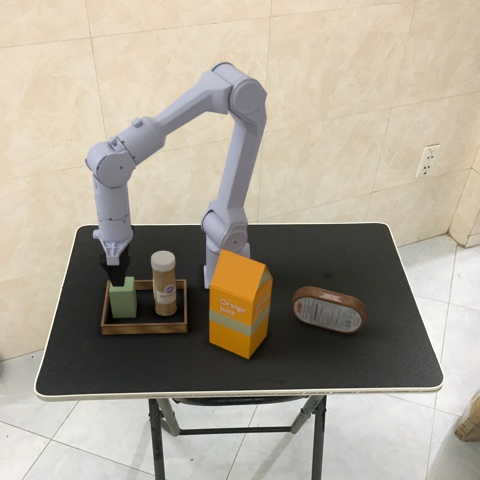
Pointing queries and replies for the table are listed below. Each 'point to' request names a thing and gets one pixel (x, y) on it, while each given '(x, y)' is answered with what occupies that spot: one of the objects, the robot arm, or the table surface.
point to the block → (124, 299)
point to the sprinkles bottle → (164, 282)
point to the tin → (329, 310)
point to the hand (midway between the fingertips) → (120, 273)
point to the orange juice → (239, 303)
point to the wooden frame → (148, 326)
